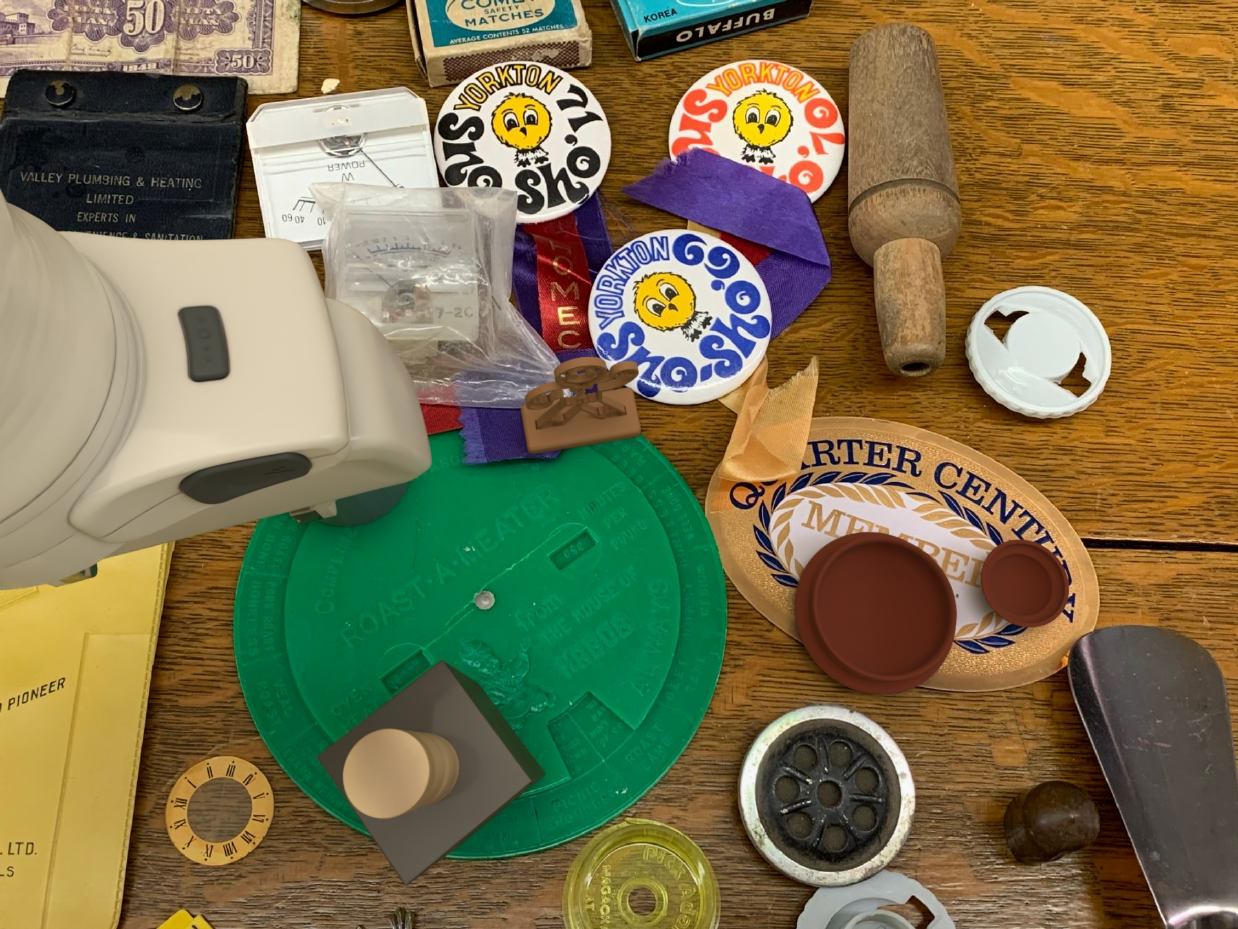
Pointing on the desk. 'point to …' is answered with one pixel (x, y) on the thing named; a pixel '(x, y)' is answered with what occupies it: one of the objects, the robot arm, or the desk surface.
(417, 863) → the stand
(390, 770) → the shaker
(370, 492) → the cup
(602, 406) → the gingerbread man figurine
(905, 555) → the pottery
